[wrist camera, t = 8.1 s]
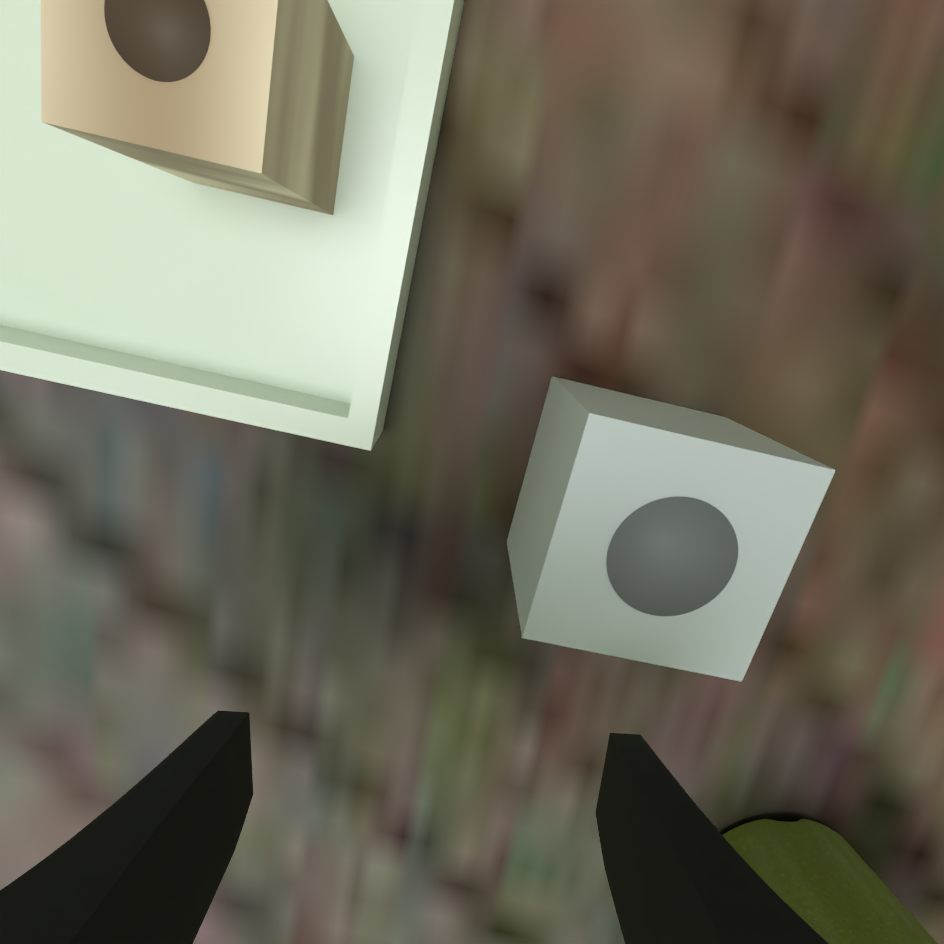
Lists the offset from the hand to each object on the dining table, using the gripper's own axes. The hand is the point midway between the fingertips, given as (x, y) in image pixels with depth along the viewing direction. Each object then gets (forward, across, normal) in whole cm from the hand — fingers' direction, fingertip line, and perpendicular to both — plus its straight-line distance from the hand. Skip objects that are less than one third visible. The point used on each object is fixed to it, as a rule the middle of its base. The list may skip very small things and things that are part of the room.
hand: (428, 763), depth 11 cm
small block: (+9, +6, -13) cm, 17 cm away
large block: (+10, -6, -3) cm, 11 cm away
